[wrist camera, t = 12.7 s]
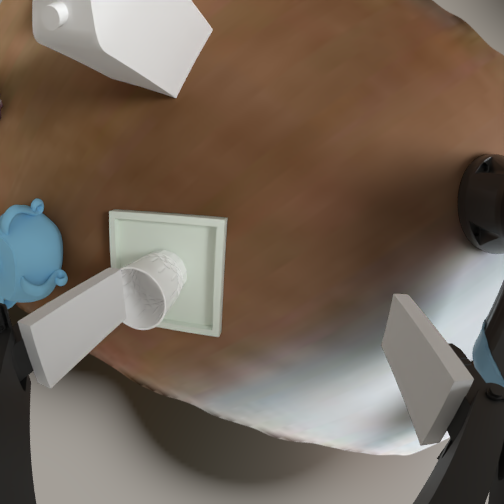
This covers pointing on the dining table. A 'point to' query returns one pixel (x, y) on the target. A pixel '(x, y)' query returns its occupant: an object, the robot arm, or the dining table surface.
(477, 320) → the dining table surface
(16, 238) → the decorative pot
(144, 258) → the white cup
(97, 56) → the milk
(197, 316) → the tray
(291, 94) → the dining table surface
